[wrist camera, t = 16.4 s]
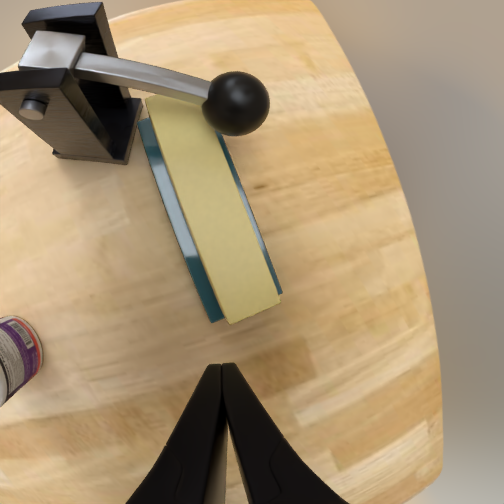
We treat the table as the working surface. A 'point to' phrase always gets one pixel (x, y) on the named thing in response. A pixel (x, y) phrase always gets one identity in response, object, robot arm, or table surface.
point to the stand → (74, 92)
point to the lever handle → (157, 81)
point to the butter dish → (181, 225)
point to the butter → (212, 208)
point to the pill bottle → (17, 355)
